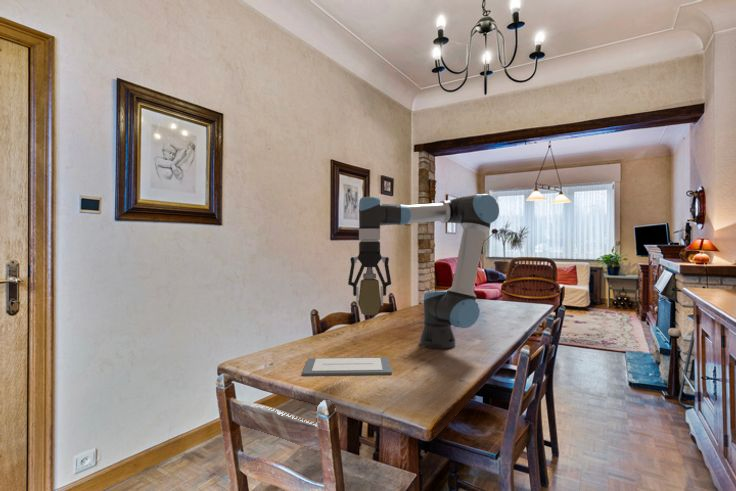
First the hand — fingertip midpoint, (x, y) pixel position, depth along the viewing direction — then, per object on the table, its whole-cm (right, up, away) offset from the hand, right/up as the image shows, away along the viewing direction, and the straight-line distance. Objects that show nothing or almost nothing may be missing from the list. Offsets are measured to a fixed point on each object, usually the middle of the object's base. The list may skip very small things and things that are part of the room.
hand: (369, 304), depth 137 cm
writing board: (-8, -22, 0) cm, 24 cm away
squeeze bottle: (0, -3, 0) cm, 3 cm away
